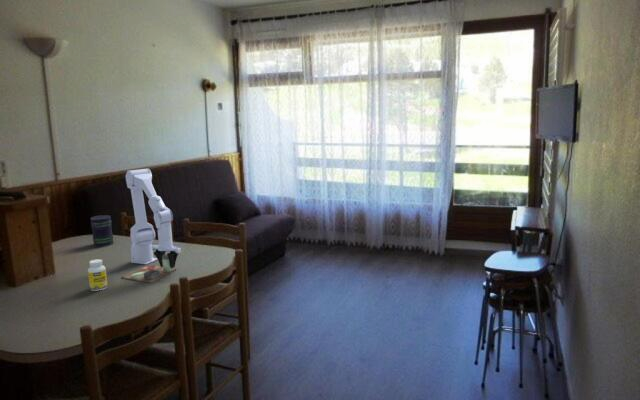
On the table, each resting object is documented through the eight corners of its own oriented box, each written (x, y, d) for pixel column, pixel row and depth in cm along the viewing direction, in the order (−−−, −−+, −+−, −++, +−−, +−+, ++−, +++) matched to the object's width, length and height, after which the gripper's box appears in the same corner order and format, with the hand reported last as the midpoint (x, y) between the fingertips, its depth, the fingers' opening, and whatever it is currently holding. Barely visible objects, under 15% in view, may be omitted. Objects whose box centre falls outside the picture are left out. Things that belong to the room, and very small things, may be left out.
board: (121, 278, 200) (120, 271, 200) (148, 266, 215) (147, 259, 214) (151, 282, 194) (150, 275, 194) (176, 270, 209) (175, 263, 208)
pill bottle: (90, 292, 185) (86, 264, 183) (89, 287, 191) (86, 260, 189) (108, 289, 188) (105, 262, 186) (107, 284, 194) (104, 257, 192)
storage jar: (108, 246, 246) (105, 219, 243) (90, 247, 246) (86, 219, 243) (116, 241, 256) (113, 214, 253) (99, 241, 256) (95, 215, 253)
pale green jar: (161, 271, 206) (159, 256, 204) (167, 268, 209) (166, 253, 208) (168, 272, 204) (167, 257, 203) (174, 269, 208) (173, 254, 207)
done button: (145, 270, 198) (145, 267, 197) (150, 268, 200) (150, 264, 200) (151, 271, 196) (151, 268, 196) (156, 269, 199) (156, 265, 199)
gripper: (145, 238, 203) (148, 267, 206) (172, 241, 197) (175, 271, 200) (156, 233, 209) (159, 262, 212) (183, 236, 204) (185, 266, 207)
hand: (167, 266), depth 207 cm, fingers open, 5 cm apart
